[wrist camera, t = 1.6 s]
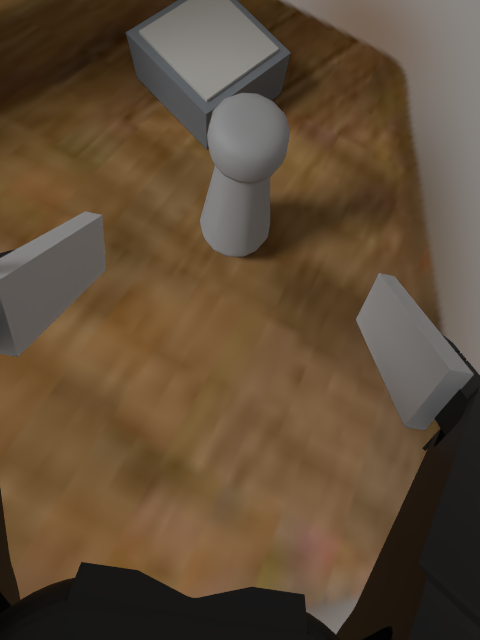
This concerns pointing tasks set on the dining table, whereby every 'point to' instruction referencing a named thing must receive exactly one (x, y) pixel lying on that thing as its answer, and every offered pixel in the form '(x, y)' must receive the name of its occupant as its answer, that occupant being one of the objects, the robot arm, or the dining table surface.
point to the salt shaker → (242, 172)
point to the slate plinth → (206, 58)
